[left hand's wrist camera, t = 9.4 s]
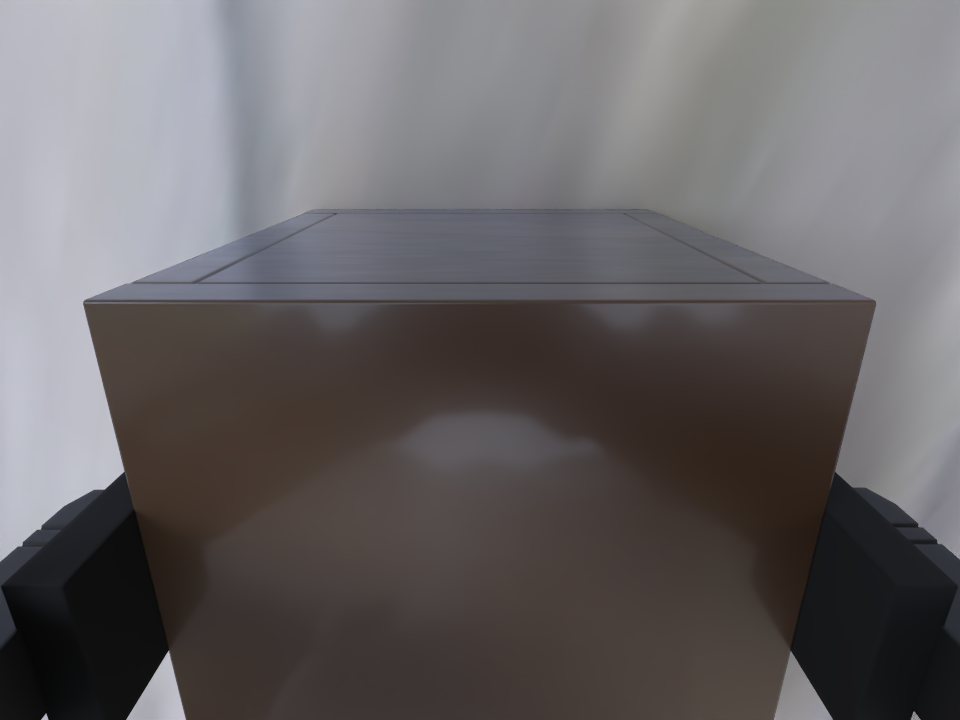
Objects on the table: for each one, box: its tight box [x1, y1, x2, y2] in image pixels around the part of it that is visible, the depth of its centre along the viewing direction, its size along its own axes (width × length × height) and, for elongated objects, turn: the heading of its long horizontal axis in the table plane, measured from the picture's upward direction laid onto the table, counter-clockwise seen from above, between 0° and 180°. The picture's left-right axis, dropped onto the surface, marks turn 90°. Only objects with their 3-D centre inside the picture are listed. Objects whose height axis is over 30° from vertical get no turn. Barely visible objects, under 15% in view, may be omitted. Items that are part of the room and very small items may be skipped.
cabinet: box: [83, 210, 876, 720], centre depth 16 cm, size 20×10×11 cm, turn 0°
